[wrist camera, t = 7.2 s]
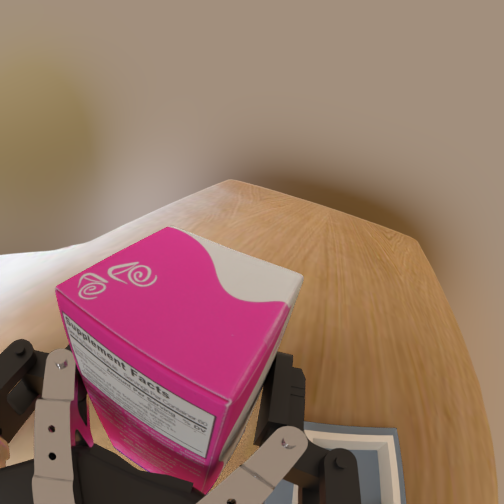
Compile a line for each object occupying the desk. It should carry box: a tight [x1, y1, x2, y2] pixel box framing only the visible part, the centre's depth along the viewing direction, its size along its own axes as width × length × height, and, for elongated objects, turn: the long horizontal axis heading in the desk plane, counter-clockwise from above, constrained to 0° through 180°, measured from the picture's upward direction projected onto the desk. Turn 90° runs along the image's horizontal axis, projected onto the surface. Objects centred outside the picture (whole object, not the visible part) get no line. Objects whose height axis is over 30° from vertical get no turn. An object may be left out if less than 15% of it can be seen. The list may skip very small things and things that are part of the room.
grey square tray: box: [263, 421, 406, 504], centre depth 18 cm, size 14×14×3 cm
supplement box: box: [55, 225, 303, 495], centre depth 10 cm, size 6×6×12 cm
